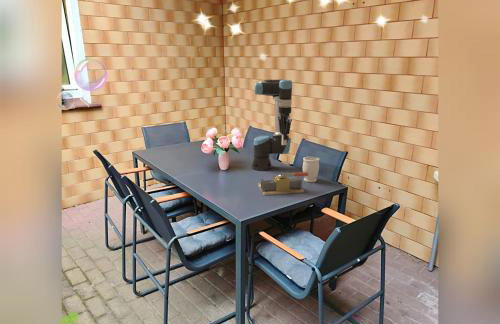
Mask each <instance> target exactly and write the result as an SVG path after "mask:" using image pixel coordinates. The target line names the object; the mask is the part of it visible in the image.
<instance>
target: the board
mask: <svg viewBox="0 0 500 324" xmlns="http://www.w3.org/2000/svg"><path fill="white" fill-rule="evenodd" d="M257 186H258V188H259V189H260V191H261V193H262V195H263V196H268V195H270V196H271V195H282V194H283V195H284V194H296V193H298V194H300V193H305V189H303V188H302V189H289V191H279V192H276V190H271V191H265V192H263V191H262V190H261V182H257Z"/></svg>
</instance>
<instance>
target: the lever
mask: <svg viewBox="0 0 500 324" xmlns="http://www.w3.org/2000/svg"><path fill="white" fill-rule="evenodd" d="M277 176H278V177H279V178H284V176H287V177H304V176H308V172H303V171H297V172H296V171H294V172H282V173H280V174H278V175H277Z"/></svg>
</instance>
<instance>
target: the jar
mask: <svg viewBox="0 0 500 324" xmlns="http://www.w3.org/2000/svg"><path fill="white" fill-rule="evenodd" d="M302 160H303V163H302V172H308V176H303V177H304V178H303V181H304V182H307V183H315V182H317V179H318V178H317V177H318V175H319V170H320V163H319V162H320V157H317V156H304V157H303V158H302Z"/></svg>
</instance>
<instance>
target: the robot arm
mask: <svg viewBox="0 0 500 324" xmlns="http://www.w3.org/2000/svg"><path fill="white" fill-rule="evenodd" d="M292 92H293V80H291V79H283V78H282V79H265V80H261V81H258V82H255V83H254V95H257V96H258V95H259V96H266V97H272V100H274V134H273V135H272V137H270V135H259V136H256V137H254V139H253V158H252V161H251V165H250V166H251V168H250V169H252V170H255V171H268V170H271V169H272V167H273V165H272V161H271V159H270V158H271V157H270V156H271V155H287V154H289V153H290V150H291V143H292V142H291V138H290V137H289V136H290V135H289V134H290V133H291V132H290V131H291V126H292V125H291V124H292V122H293V120H292V118H291V116H290V114H291V113H292V104H293V103H292V102H293V101H292V100H293V99H292V95H293V93H292Z"/></svg>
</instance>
